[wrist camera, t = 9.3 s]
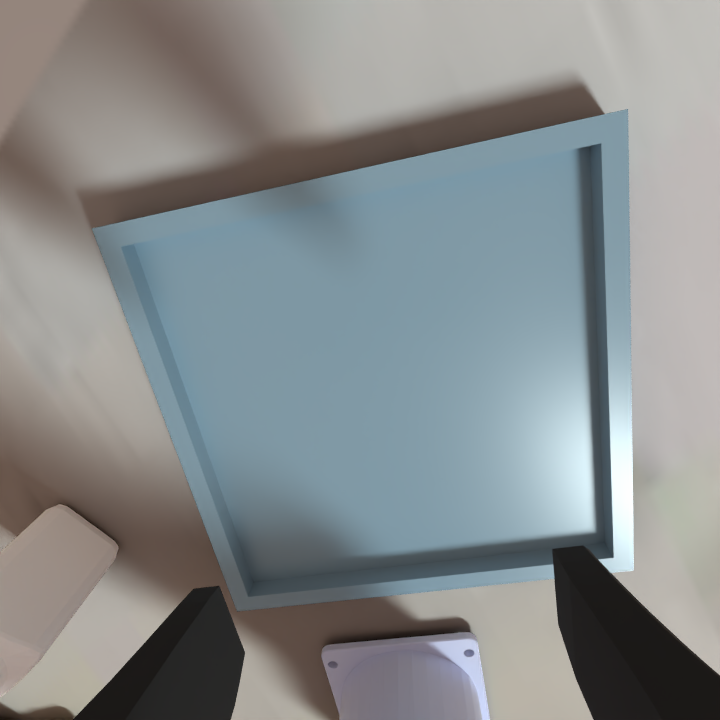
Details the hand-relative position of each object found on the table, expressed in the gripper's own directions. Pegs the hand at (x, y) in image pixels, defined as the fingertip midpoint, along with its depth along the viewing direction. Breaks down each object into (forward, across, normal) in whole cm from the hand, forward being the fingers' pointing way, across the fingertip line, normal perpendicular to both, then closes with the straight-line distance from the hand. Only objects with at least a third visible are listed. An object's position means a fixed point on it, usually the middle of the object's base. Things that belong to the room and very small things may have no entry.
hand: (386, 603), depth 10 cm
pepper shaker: (+11, +17, +5) cm, 21 cm away
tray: (+10, 0, 0) cm, 10 cm away
